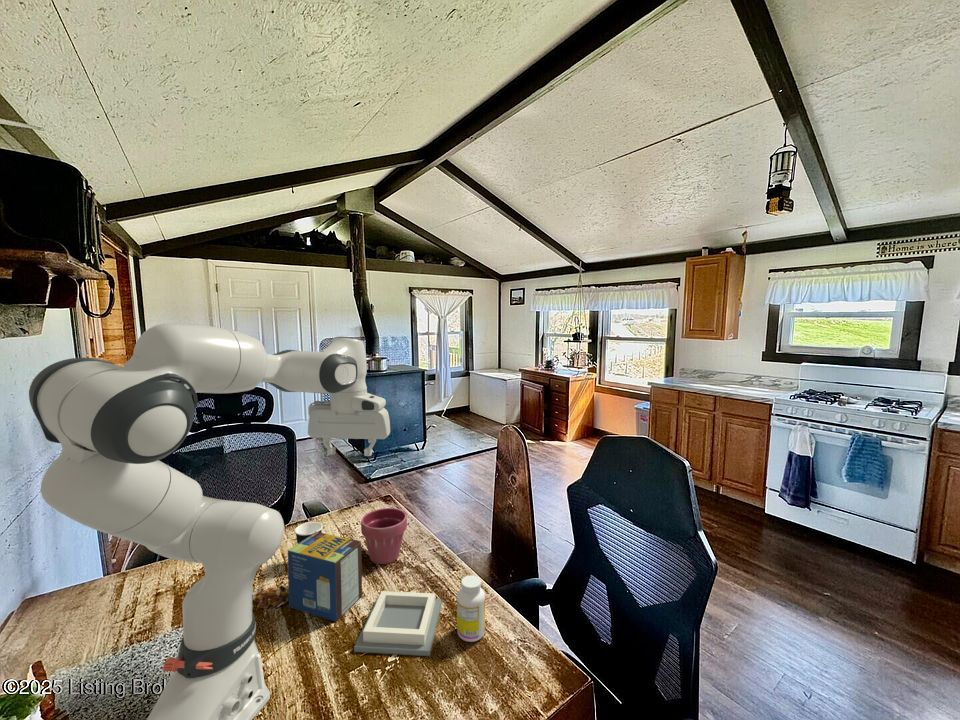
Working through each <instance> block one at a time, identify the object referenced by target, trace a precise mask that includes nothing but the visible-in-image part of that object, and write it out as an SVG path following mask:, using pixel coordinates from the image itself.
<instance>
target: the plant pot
mask: <svg viewBox="0 0 960 720" xmlns="http://www.w3.org/2000/svg"><path fill="white" fill-rule="evenodd" d="M407 520H408V517H407V514H406V512H405V511H404V510H402V509H399V508H394V507H384V508H379V509H375V510H372V511H370V512H368V513H365V515H363V517H362V518H361V520H360V521H361V522H360V528H361V529H360V531H361V535H362V536H363V537H364V541H365V543H366V548H367V553H368V555H369V560H370V561H371V562H372V563H374V564H377V565H386V564H390V563H392V562H395V561H396V560H398V558H399V556H400V553H401V548H402V543H403V538H404V533H405V531H406V530H407V528H408V521H407Z"/></svg>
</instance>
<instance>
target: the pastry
mask: <svg viewBox="0 0 960 720" xmlns="http://www.w3.org/2000/svg"><path fill="white" fill-rule="evenodd" d="M252 601H254V602H256V603H258V604H257V606H256V608H257V609H258V608H259V609H268V607H269V606H271V605H272V606H273V608H279V607H280V606H281V605H285V604H286V603H287V602H289V586H286V585H285V584H283V585H282V584H281V585H280V586H279V587H275V586H271V587H268V588H267V589H265V588H262V587H261V588H257V590H256V591H255V590H252Z"/></svg>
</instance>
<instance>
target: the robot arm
mask: <svg viewBox="0 0 960 720" xmlns="http://www.w3.org/2000/svg"><path fill="white" fill-rule="evenodd" d="M367 364H368V363H367V353H366V347H365V344H364V341H363V340H361V339H359V338H357V337H350V336H335V337H332V339H331V343H330V344H329V345H328V346H327V347H325V348H324V349H321V350H320V351H311V350H309V351H308V350H294V349H285V350H280V351H279V352H276V353H274V354H270V353H267V350H266V347H265V346H264V345H263V343H262V342H261V341H260V340H259V339H258V338H257V337H253V336H251V335H249V334H247V333H243V332H241V331H236V330H234V329H233V330H232V329H229V328H224V327H218V326H213V325H206V324H205V325H204V324H194V323H193V324H192V323H160V324H156V325H154V326H151V327H149V328H148V329H146V330H145V331H144V332H143V333H142V334H141V335H140V336H139V338H138V339H137V341H136V342H135V345H134V348H133V352H132V356H131V358H129V359H128V360H127V361H126V362H124V363H122V365H123V366H122V365H117V364H115V363H113V362H111V361H108V360H106V359H101V358H92V357H73V358H67V359H63V360H62V359H61V360H59V361H57V362H54V363H52V364H50V365H48V366H46V367H45V368H43V369H42V370H41V371H40V372H38V373H37V375H36V376H34V378H33V380H32V381H31V383H30V385H29V389H28V398H29V399H28V400H29V404H30V407H31V409H32V412H33V414H34V416H35V417H36V419H37V421H38V423H39V424H40V429H42V432H43V434H44V436H45V439H46V440H47V441H49V442H51V443H56V444H60V445H61V449H62V450H61V453H60V455H59V456H58V457H57V458H56V459H54V461H53V462H52V463H51V465H49V467H48V468H47V470H46V471H45V472H44V475H43V477H42V480H41V483H40V493H41V494H40V495H41V496H42V498H43V500H44V502H45V503H46V504H47V505H49V506H50V507H52V508H53V509H54V510H55V511H57V512H59V513H60V514H62V515H64V516H66V517H67V518H69V519H70V520H72V521H74V522H76V523H79V524H81V525H83V526H86V527H88V528H90V529H93V530H95V531H98V532H101V533H104V534H107V535H110V536H113V537H116V538H119V539H122V540H126V541H129V542H132V543H135V544H138V545H142V546H144V547H146V549H147V550H149V551H151V552H152V553H155V554H157V555H159V556H161V557H164V558H167V559H170V560H174V561H181V562H189V563H195V564H201V565H202V566H203V569H204V577H202V578H201V579H199V580H198V581H197V582H196V583H194V584H193V585H192V586H191V587H190V589H189V590H188V592H187V593H186V594H185V596H184V598H183V600H182V604H181V607H182V609H181V610H182V629H183V630H182V632H183V635H182V638H181V642H180V645H179V649H178V654H177V657H174V656H173V657H172V656H170V657H168V658H167V659H166V660H164V664H163V665H162V671H163V672H172V674H171V676H170V677H169V679H168V681H167V683H166V684H165V686H164V688H163V689H162V692H161V694H160V696H159V697H158V699H157V701H156V703H155V704H154V706H153V708H152V710H151V711H150V713H149V715H148V716H147V718H146V720H254V718H255V716H256V715H257V714H258V713H259V712H260V711H261V710H262V708H263V707H264V706H266V704H267V703H268V702H269V700H270V698H271V693H270V689H269V688H268V686H267V685H266V684H265V678H264V677H265V676H264V672H263V670H264V669H263V664H262V663H263V662H262V657H261V654H260V652H259V649H258V647H257V644H256V640H255V638H256V634H257V631H256V629H257V622H256V616H255V614H254V612H253V600H252V592H253V585H254V579H255V577H256V574H257V572H258V570H259V568H260V567H261V566H262V565H264V564H265V563H267V562H268V561H269V560H270V559H271V558H273V556H274V555H275V554H276V552H277V551H278V550H279V548H280V546H281V544H282V541H283V539H284V535H285V523H284V519H283V517H282V515H281V513H280V512H279V511H277V509H274V508H270V507H268V506H265V505H263V504H259V503H256V502H247V501H236V500H227V499H220V498H214V497H209V496H205V495H203V494H204V493H203V489H202V487H201V484H200V483H199V482H198V481H197V480H196V479H193V478H191V477H190V476H188V475H185V473H183V472H181V471H179V470H177V469H176V468H173V466H172V467H171V466H170V465H168V464H166V463H164V462H163V461H161V460H162V459H165V458H166V457H168V456H169V455H171V454H172V453H173V452H175V451H176V450H177V449H178V448H179V447H180V446H181V444H182V443H183V442H184V440H185V439H186V438H187V436H188V435H189V432H190V430H191V429H192V425H193V422H194V418H195V409H196V408H197V406H198V403H199V399H198V395H197V393H200V394H201V393H203V394H233V393H235V394H236V393H241V392H242V393H243V392H248V391H251V390H254V389H255V388H256V387H257V386H259V385H260V383H266V384H270V386H273V387H274V388H276V389H278V390H279V391H281V392H284V393H308V394H310V393H311V394H322V395H323V394H324V395H326V394H327V395H329V400H322V401H321V400H314V401H313V402H311V403H310V404H309V405H308V409H307V411H308V416H309V417H308V423H307V435H308V436H309V437H310V438H312V439H321V440H322V444H323V445H324V447H325V449H327V452H326V454H327V456H335V455H336V454H337V453H336V451H337V449H336V447H337V446H333V445H332V442H331V440H332V439H344V440H345V439H346V440H347V439H349V440H351V439H352V440H353V439H354V440H361V439H362V440H367V441H368V444H369V446H368V447H365V448H364V449H363V452H364V453H363V455H364V457H371V456H372V455H373V448H374V446H375V444H376V442H377V440H385V439H386V438H388V437H389V436H390V434H391V420H390V416H389V415H390V414H389V411H388V410H387V409H386V408H385V406H386V405H387V401H386V399H385V398H384V397H380V396H377V395H375V394H373V393H372V394H371V393H369V392H368V388H367V387H368V386H367V383H366V376H367V373H368V372H367V369H368V368H367V367H368V366H367Z"/></svg>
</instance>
